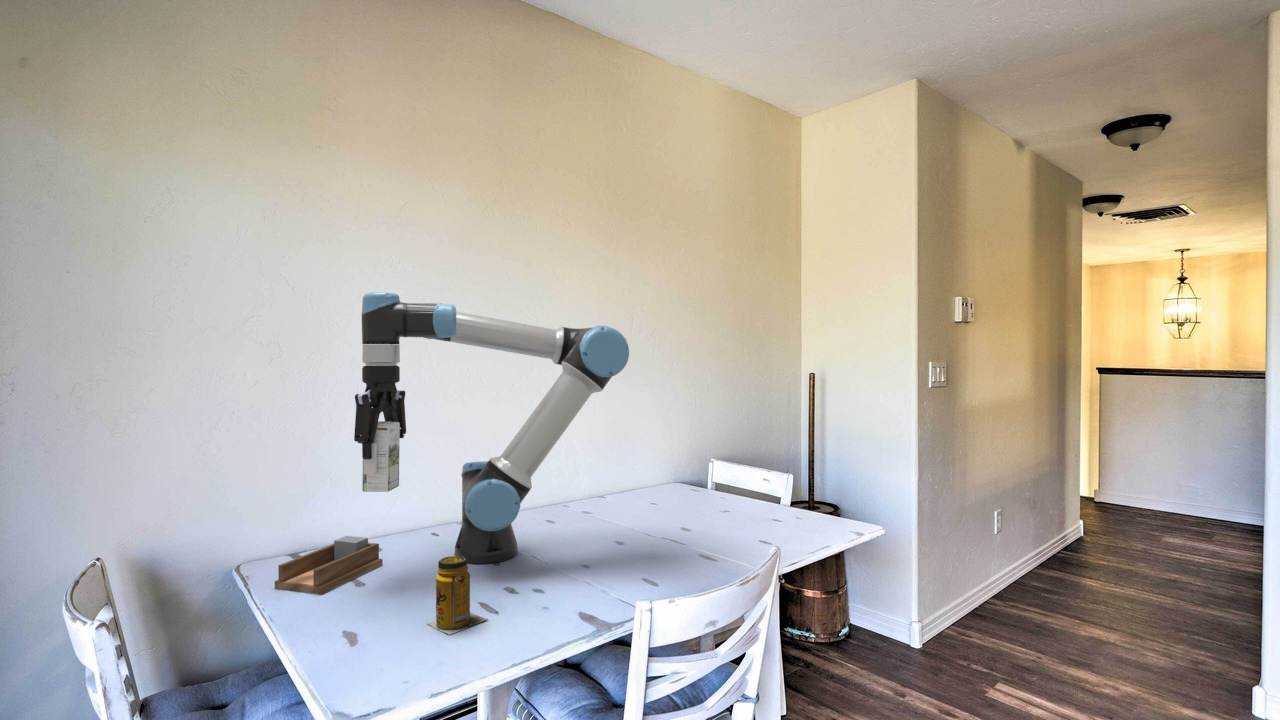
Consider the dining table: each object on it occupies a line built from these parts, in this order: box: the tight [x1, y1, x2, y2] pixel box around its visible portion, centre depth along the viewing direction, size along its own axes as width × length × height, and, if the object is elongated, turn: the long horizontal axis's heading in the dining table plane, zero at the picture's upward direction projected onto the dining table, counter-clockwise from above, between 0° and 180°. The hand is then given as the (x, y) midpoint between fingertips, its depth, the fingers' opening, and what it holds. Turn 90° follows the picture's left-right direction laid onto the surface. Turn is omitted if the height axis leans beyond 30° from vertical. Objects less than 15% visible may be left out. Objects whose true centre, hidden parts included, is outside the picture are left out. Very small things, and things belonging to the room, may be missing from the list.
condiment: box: [426, 555, 488, 636], centre depth 120 cm, size 7×8×12 cm
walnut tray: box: [274, 542, 383, 596], centre depth 144 cm, size 12×19×5 cm, turn 164°
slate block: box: [333, 535, 369, 561], centre depth 150 cm, size 6×4×5 cm, turn 74°
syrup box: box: [361, 420, 401, 493], centre depth 140 cm, size 6×6×14 cm
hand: (381, 470), depth 140 cm, fingers closed on syrup box, 7 cm apart
